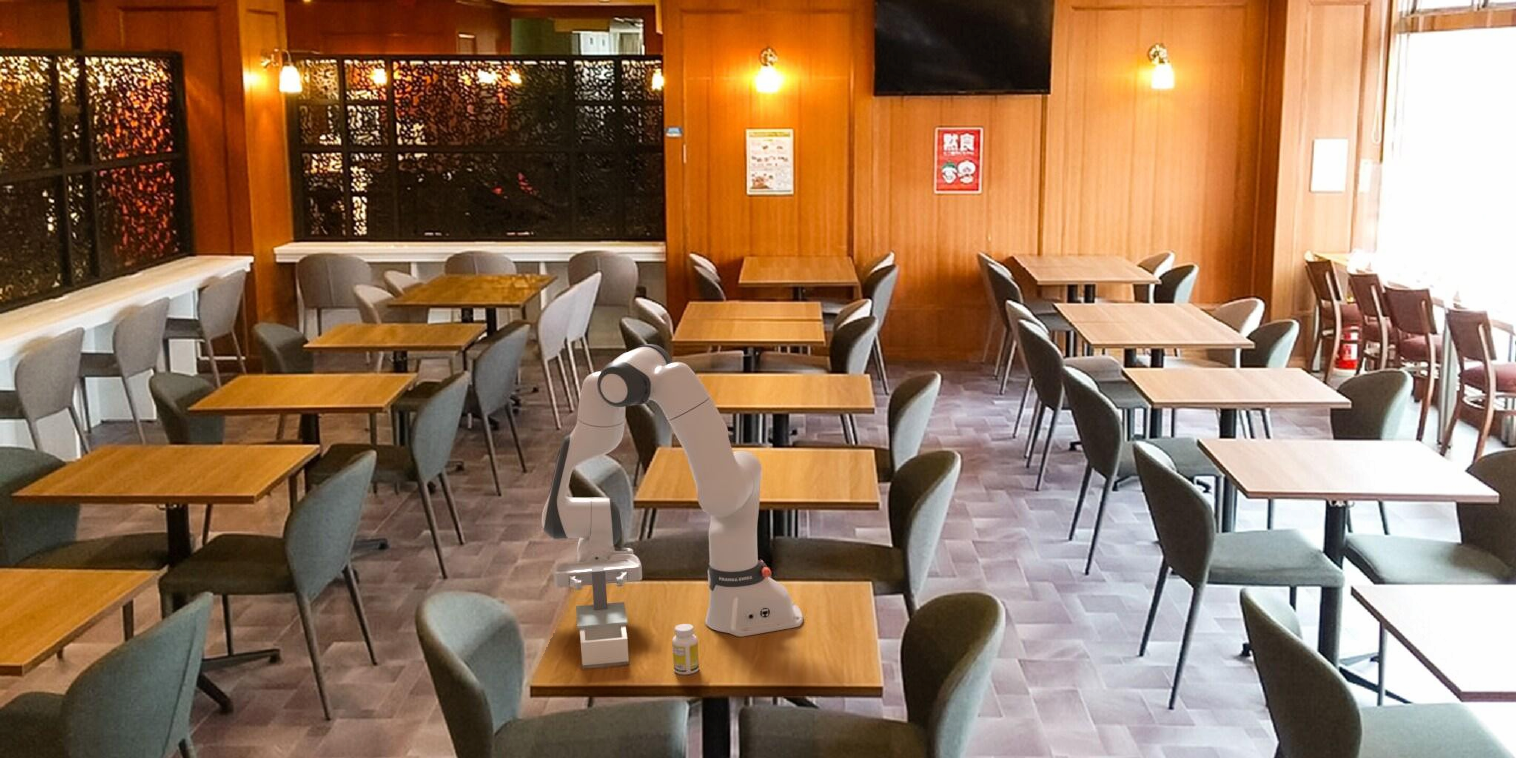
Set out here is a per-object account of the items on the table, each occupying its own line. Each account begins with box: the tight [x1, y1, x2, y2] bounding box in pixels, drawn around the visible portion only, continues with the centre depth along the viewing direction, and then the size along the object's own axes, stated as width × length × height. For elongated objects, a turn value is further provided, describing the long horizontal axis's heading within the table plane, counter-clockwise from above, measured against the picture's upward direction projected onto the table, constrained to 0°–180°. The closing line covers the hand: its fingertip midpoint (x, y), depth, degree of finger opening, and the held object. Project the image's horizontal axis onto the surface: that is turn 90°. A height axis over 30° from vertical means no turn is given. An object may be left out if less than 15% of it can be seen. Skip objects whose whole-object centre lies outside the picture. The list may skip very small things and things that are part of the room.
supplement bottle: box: [671, 623, 700, 676], centre depth 307 cm, size 5×5×10 cm
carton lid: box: [575, 566, 628, 630], centre depth 321 cm, size 12×11×10 cm
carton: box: [579, 625, 630, 670], centre depth 315 cm, size 11×10×6 cm
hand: (599, 584), depth 324 cm, fingers open, 8 cm apart
